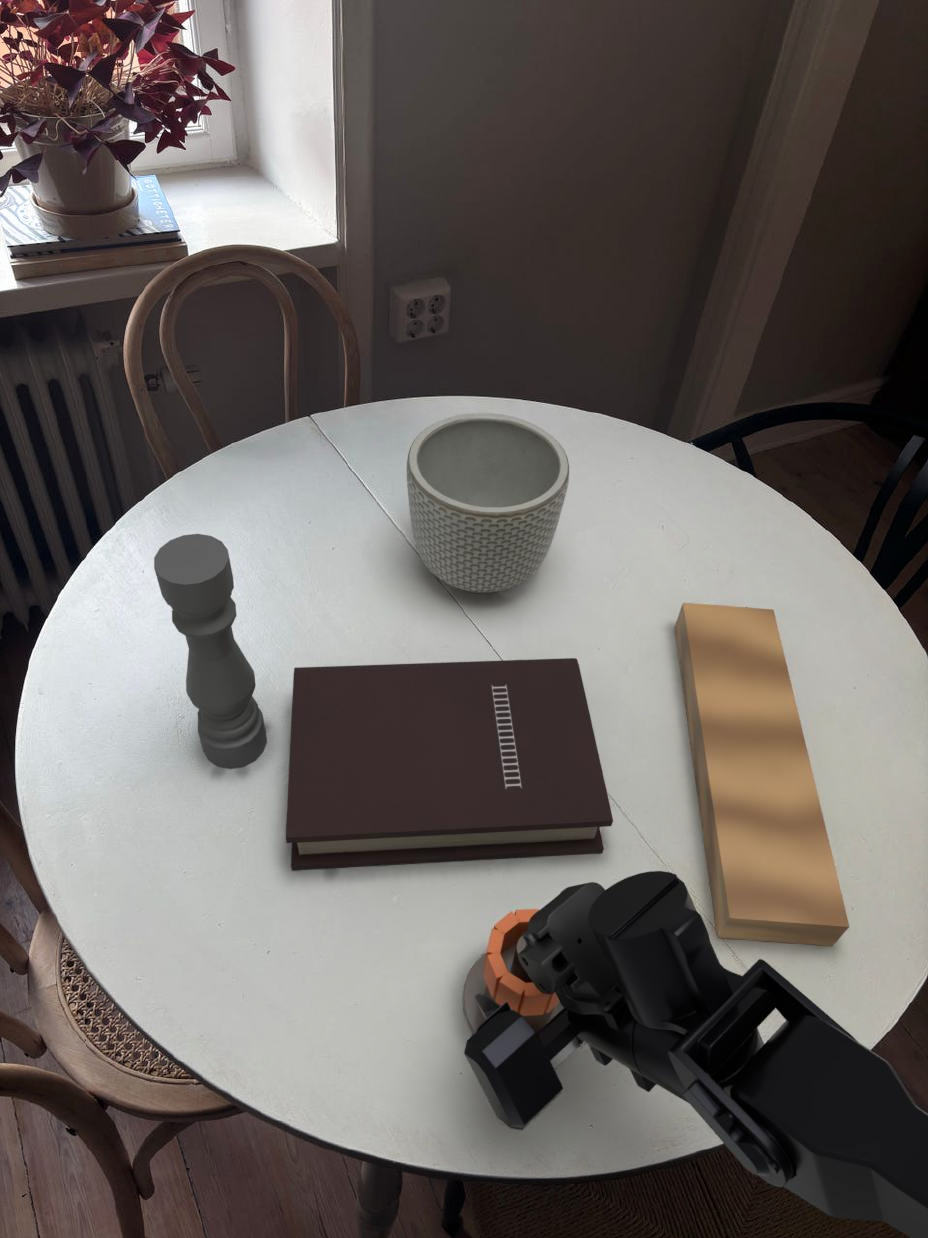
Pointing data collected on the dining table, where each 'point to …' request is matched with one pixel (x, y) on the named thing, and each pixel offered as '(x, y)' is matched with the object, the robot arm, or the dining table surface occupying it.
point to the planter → (485, 499)
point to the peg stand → (478, 985)
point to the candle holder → (212, 648)
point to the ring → (503, 981)
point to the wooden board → (755, 782)
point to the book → (442, 764)
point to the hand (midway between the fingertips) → (525, 960)
